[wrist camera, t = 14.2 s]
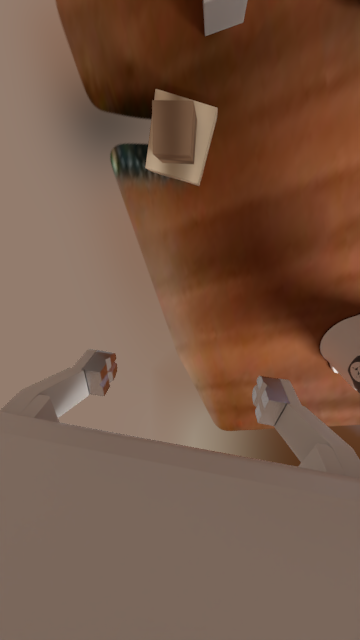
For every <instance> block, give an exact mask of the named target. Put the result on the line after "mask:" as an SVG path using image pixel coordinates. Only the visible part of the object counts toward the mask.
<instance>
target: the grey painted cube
mask: <svg viewBox="0 0 360 640" xmlns="http://www.w3.org/2000/svg"><path fill="white" fill-rule="evenodd" d="M246 6H247V0H203V13H204V28H205V36H207V35H210V34H213V33H216V32H218V31H221V30H224V29H227V28H230V27H232V26H235V25H238V24H241V23H243V22H244V16H245V11H246Z"/></svg>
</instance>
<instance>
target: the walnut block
mask: <svg viewBox="0 0 360 640" xmlns="http://www.w3.org/2000/svg"><path fill="white" fill-rule="evenodd" d="M196 129H197V117H196V111H195V105H194V101H190V100H152V131H153V155H154V156H155V157H157V158H158V159H159V160H160V161H161V162H162V163H174V164H194V157H195V143H196Z"/></svg>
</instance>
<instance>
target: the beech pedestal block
mask: <svg viewBox="0 0 360 640" xmlns="http://www.w3.org/2000/svg"><path fill="white" fill-rule="evenodd" d="M154 100H190V101H194V100H191V99H188V98H184V97H181V96H178V95H175V94H172V93H168V92H165V91H162V90H159V89H155V97H154ZM194 105H195V111H196V117H197V129H196V143H195V157H194V164H174V163H162V162H161V161H160V160H159V159H158V158H157V157H155V156H154V155H153V131H152V120H151V129H150V137H149V144H148V151H147V159H146V167H145V168H146V169H148V170H150V171H151V172H155V173H158V174H161V175H164V176H168V177H171V178H174V179H177V180H181V181H184V182H187V183H191V184H194V185H197V186H200V182H201V179H202V175H203V171H204V167H205V163H206V159H207V155H208V151H209V147H210V143H211V139H212V135H213V132H214V128H215V124H216V120H217V110H218V108H217V107H213V106H210V105H207V104H204V103H201V102H197V101H194Z"/></svg>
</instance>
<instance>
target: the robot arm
mask: <svg viewBox="0 0 360 640" xmlns="http://www.w3.org/2000/svg"><path fill="white" fill-rule="evenodd" d="M320 351H321V354H322V356H323V357H324V358H325V359H326V360H327V361H328V362H329V363H330V367H331V369H332V370H333V371H334V372H335V373H339V374H340V375H341V376H342V377H343V378H344V379H345V380H346V381H347V382H348V383H349V384H350V385H351V386H352V387H353V388H354V389H355V390H357V391H358V392H359V393H360V314H359V315H357V316H354V317H350V318H348V319H345V320H343V321H341V322H339V323H337V324H336V325H334V326H333V327H332V328H331V329H329V330H328V331H327V333H326V334H325V335H324V337H323V338H322V340H321V344H320ZM115 360H116V355H115V353H111V352H105V351H99V350H93V349H89V350H87V351H86V352H85V353H84V354H83V356H82V357H81V358H80V359H79V360H78V361H77V362H76V364H75V365H74V366H73V367H72V368H68V369H66V370H63V371H61V372H59V373H57V374H55V375H52V376H50V377H48V378H46V379H44V380H42V381H40V382H38V383H35V384H33V385H31V386H29V387H27V388H25V389H22V390H21V391H20V392H19V393H18V394H17V395H16V396H15V397H14V398H12V399H11V400H10V401H9V402H8V403H7V404H6V405H5V406H4V407H3V408H2V409H1V410H0V640H360V460H359V458H358V457H357V455H356V453H355V451H354V450H353V448H351V447H350V446H349V445H348V444H347V443H346V442H345V441H343V440H342V439H341V438H340V437H339V436H338V435H337V434H335V433H334V432H333V431H332V430H331V429H330V428H329V427H327V426H326V425H325V424H324V423H323V422H322V421H321V420H319V419H318V418H317V417H316V416H315V415H314V414H313V413H311V412H310V411H309V410H308V409H307V408H306V407H304V406H301V403H300V401H299V399H298V397H297V395H296V393H295V391H294V389H293V387H292V384H291V382H290V381H289V380H286V379H278V378H271V377H264V376H259V377H258V379H257V385H256V386H254V389H253V394H252V399H253V404H254V405H255V406H256V407H257V408H256V410H255V413H256V417H257V422H258V423H261V424H266V425H271V426H275V429H276V430H277V431H278V432H279V434H280V435H281V436H282V438H283V439H284V440H285V442H286V443H287V444H288V446H289V447H290V448H291V450H292V451H293V452H294V454H295V455H296V456H297V458H298V459H299V460H300V461H301V464H300V465H299V467H296V466H290V465H285V464H280V463H274V462H269V461H264V460H259V459H253V458H248V457H242V456H237V455H231V454H226V453H221V452H215V451H209V450H205V449H199V448H194V447H188V446H183V445H177V444H172V443H167V442H161V441H156V440H151V439H145V438H139V437H134V436H129V435H124V434H118V433H113V432H108V431H102V430H97V429H92V428H86V427H81V426H75V425H70V424H65V423H60V422H59V420H58V417H60V416H61V415H63V414H64V413H65V412H67V411H68V410H69V409H71V408H72V407H74V406H75V405H76V404H78V403H79V402H80V401H82V400H83V399H84V398H86V397H87V396H88V395H89V394H93V395H100V396H105V394H106V392H107V391H108V389H109V387H110V385H109V383H110V382H111V381H113V380H114V378H115V375H116V372H117V364H116V363H115V362H114V361H115Z"/></svg>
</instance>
